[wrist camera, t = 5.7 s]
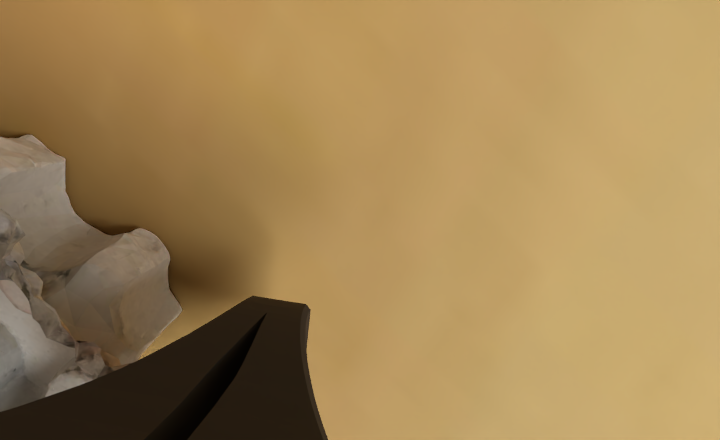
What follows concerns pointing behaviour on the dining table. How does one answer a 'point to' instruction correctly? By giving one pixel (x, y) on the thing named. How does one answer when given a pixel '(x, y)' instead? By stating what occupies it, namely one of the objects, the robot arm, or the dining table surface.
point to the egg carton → (68, 283)
